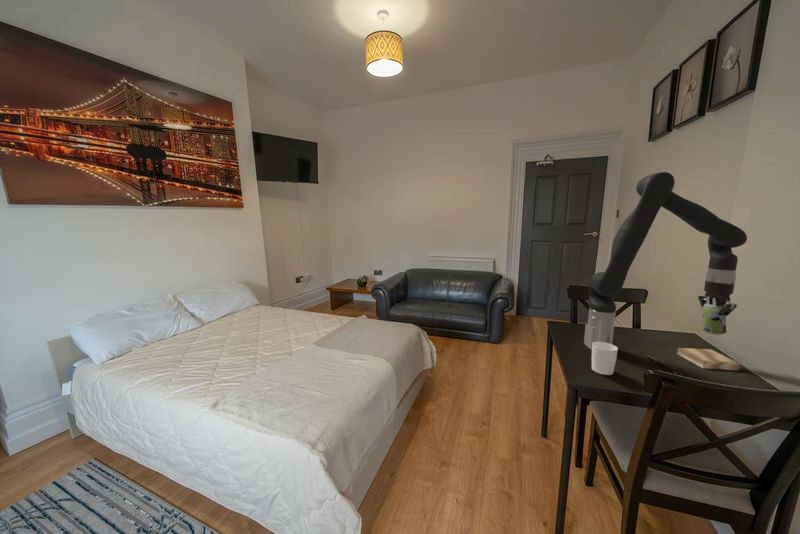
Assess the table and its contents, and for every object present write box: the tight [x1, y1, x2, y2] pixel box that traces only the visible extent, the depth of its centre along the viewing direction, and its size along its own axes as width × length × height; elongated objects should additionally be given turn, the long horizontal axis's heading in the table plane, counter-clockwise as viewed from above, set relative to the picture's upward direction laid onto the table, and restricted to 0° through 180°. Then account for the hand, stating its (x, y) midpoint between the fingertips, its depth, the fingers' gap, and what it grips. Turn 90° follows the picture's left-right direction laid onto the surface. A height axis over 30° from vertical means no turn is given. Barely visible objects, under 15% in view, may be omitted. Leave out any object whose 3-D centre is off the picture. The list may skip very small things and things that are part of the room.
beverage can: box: [701, 304, 727, 336], centre depth 110 cm, size 6×7×12 cm
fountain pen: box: [645, 355, 678, 375], centre depth 110 cm, size 14×1×2 cm, turn 178°
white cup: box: [591, 342, 619, 376], centre depth 106 cm, size 8×8×10 cm
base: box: [676, 347, 741, 371], centre depth 112 cm, size 12×12×3 cm
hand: (712, 323), depth 110 cm, fingers closed
